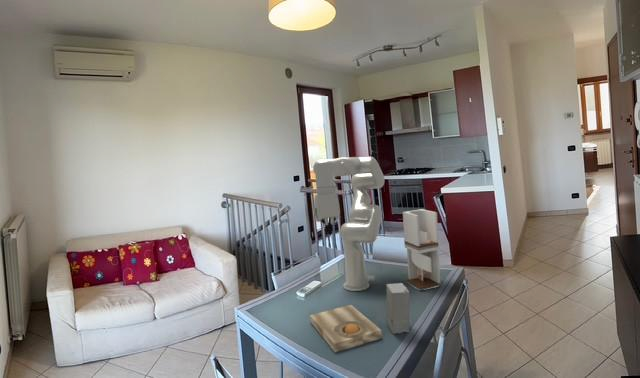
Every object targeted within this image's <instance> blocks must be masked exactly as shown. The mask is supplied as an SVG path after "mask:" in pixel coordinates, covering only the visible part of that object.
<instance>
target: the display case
mask: <svg viewBox="0 0 640 378" xmlns="http://www.w3.org/2000/svg"><path fill="white" fill-rule="evenodd" d="M402 220H403V224H402V225H403V239H404V248H405V249H406V253H407V255H406V256H407V272H408V276H407V277H408V278H407V279H406V284H407V283H408V284H410V285H412V286H414V287H416V288H417V289H419V290H424V289H427V288H431V287H434V286H438V285H440V286H441V274H440V273H441V272H440V253H439V252H440V250H439V247H440V246H439V229H438V228H439V227H438V226H439V225H438V212H436V211H432V210H427V209H424V208H421V209H414V210H413V209H412V210H407V211H402ZM408 284H407V285H408ZM410 285H409V286H410ZM412 286H411V287H412ZM417 289H416V290H417Z"/></svg>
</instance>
